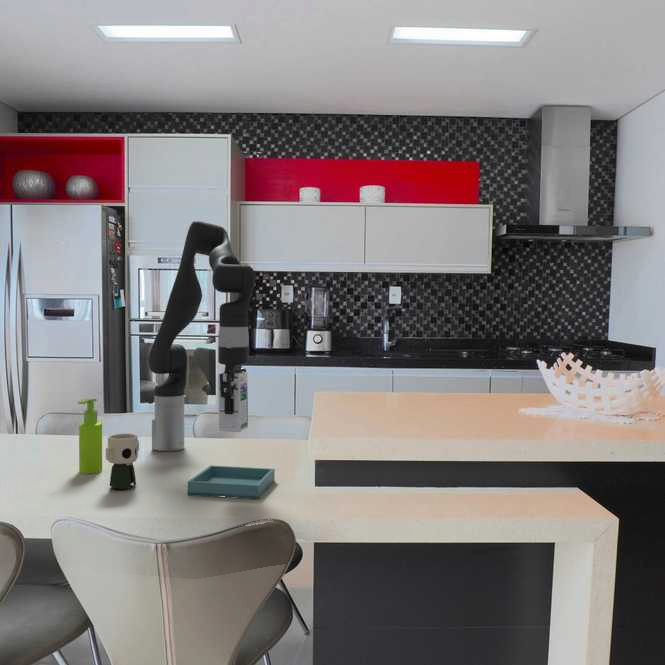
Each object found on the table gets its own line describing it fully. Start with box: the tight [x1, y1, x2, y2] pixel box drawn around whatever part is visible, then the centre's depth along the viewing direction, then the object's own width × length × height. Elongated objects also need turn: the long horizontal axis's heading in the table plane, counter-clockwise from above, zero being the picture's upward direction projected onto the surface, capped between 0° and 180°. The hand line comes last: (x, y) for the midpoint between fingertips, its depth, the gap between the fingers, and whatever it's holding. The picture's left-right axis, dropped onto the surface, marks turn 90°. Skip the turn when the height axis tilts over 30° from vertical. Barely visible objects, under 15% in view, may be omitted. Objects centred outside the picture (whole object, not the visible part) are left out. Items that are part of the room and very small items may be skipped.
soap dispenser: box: [77, 398, 103, 475], centre depth 170 cm, size 6×7×20 cm
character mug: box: [105, 433, 140, 490], centre depth 156 cm, size 11×7×13 cm, turn 155°
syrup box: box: [217, 371, 249, 433], centre depth 156 cm, size 6×6×14 cm
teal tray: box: [187, 464, 276, 500], centre depth 157 cm, size 18×16×3 cm
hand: (233, 411), depth 157 cm, fingers closed on syrup box, 5 cm apart
